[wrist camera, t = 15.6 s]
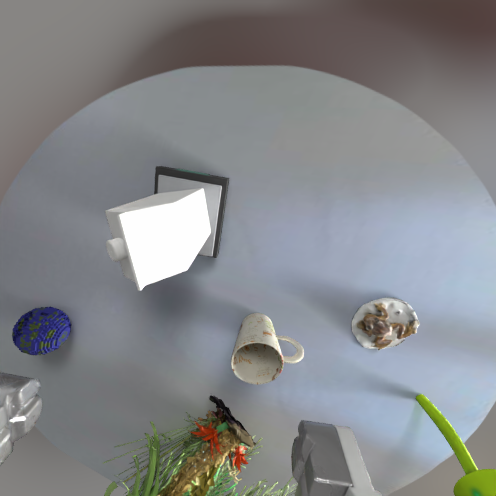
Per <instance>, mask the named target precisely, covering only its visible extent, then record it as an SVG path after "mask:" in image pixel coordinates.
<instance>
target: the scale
mask: <svg viewBox="0 0 496 496" xmlns="http://www.w3.org/2000/svg"><path fill="white" fill-rule="evenodd" d="M228 184H229V178H225V177H219V176H213V175H210V174H205V173H200V172H194V171H189V170H183V169H174V168H169V167H163V166H156V173H155V191H154V195H155V194H158V193H165V192H174V191H182V190H190V189H198V188H203V189H204V194H205V199H206V205H207V211H208V217H209V223H210V229H211V233H210V235H209V236H208V238H207V240H206V241H205V243H204V244H203V246H202V247H201V249H200V251H199V252H198V254H197V255H202V256H208V257H214V258H217V255H218V253H219V246H220V239H221V232H222V225H223V218H224V211H225V204H226V197H227V191H228Z"/></svg>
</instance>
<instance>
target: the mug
mask: <svg viewBox="0 0 496 496" xmlns="http://www.w3.org/2000/svg"><path fill="white" fill-rule="evenodd" d="M278 340H284V341H287V342H289V343H291V344H293V345H294V346H295V348H296V349H297V353H296V354H295V355H294V356H292V357H288V356H282V353H281V350H280V347H279V344H278ZM303 356H304V350H303V347H302V346H301V345H300V344H299V343H298V342H297V341H296V340H294V339H292V338H290V337H287V336H276V334H275V331H274V328H273V325H272V322H271V320H270V319H269V318H268V317H267V316H266V315H264V314H260V313H253V314H250V315H248V316H247V317H245V318H244V320H243V321H242V324H241V327H240V330H239V334H238V337H237V340H236V344H235V347H234V350H233V353H232V357H231V367H232V370H233V372H234V373H235V375H236V376H237V377H238V378H239V379H241V380H242V381H244V382H247V383H250V384H265V383H268V382H271V381H273V380H274V379H276V378H277V377H278V376H279V375H280V373H281V371H282V369H283V363H297V362H299V361H300V360H301V359H302V358H303Z"/></svg>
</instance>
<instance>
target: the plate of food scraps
mask: <svg viewBox="0 0 496 496" xmlns="http://www.w3.org/2000/svg"><path fill="white" fill-rule="evenodd" d="M358 310H359V311H358V312H357V313H356V314H355V315H354V318H353V320H352V333H353V334H354V335H355V336H356V338H357V341H359V343H360V344H361V345H362V347H365V348H374V349H378V350H380V349H382V348H388V347H394V346H397V345H399V344H400V343H402V342H403V341H404V340H405V339H404V338H406V337H408V336H410V335H411V334H414V333H416V329H417V327H418V325H419V321H418V319H417V316H416V314H415V311H414V310H413V309H412V308H411V307H410V305H409V304H408V303H406V302H404V301H402V300H400V299H396V298H381V299H377V300H374V301H373V300H372V302H371V301H370V303H369V302H368V303H367V304H364V305H363V306H362V307H360V308H358Z"/></svg>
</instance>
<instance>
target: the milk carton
mask: <svg viewBox="0 0 496 496" xmlns="http://www.w3.org/2000/svg"><path fill="white" fill-rule="evenodd" d="M105 213H106V217H107V220H108V224H109V227H110V230H111V234H112V237H113V239H112V240H108V241H107V242H106V247H107V251H108V254H109V256H110V257H111V259H112V260H113V261H115V262H118V261H120V264H121V267H122V271H123V274H124V276H125V277H126V278H128V279H130V280H132V281H134V282H136V285H137V288H138V291H141V290H142V289H143V287H144V286H146V285H148V284H151V283H154V282H156V281H159V280H162V279H165V278H167V277H170V276H173V275H175V274H178V273H181V272H184V271H186V270H188V268H189V266H190V265H191V263H192V262H193V260H194V259H195V257H196V255H197V254H198V252H199V251H200V249H201V247H202V246H203V244H204V243H205V241H206V240H207V238H208V236H209V235H210V233H211V229H210V223H209V217H208V211H207V205H206V199H205V194H204V189H203V188H198V189H190V190H182V191H174V192H165V193H158V194H155V195H152V196H149V197H146V198H143V199H140V200H137V201H134V202H131V203H128V204H125V205H122V206H118V207H115V208H112V209H109V210H106V211H105Z"/></svg>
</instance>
